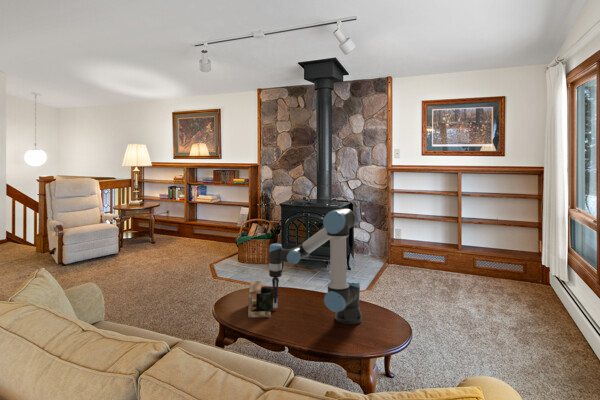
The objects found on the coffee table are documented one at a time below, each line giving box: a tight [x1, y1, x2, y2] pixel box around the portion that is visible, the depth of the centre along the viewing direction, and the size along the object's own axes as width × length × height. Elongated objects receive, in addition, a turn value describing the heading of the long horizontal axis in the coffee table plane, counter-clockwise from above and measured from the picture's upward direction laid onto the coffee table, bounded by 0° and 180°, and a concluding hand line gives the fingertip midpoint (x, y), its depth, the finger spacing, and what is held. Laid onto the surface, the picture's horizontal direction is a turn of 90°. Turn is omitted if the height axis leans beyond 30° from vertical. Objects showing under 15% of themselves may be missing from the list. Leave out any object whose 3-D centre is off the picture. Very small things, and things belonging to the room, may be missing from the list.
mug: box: [255, 286, 274, 312], centre depth 216 cm, size 11×15×12 cm
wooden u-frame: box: [247, 280, 272, 319], centre depth 216 cm, size 13×21×15 cm, turn 5°
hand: (275, 307), depth 217 cm, fingers closed
